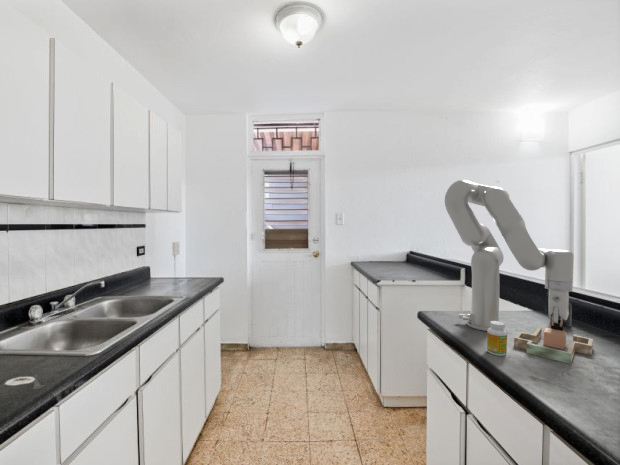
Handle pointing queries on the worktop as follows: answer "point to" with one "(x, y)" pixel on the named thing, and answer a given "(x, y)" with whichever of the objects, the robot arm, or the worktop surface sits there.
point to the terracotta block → (555, 338)
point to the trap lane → (531, 340)
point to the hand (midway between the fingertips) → (556, 336)
